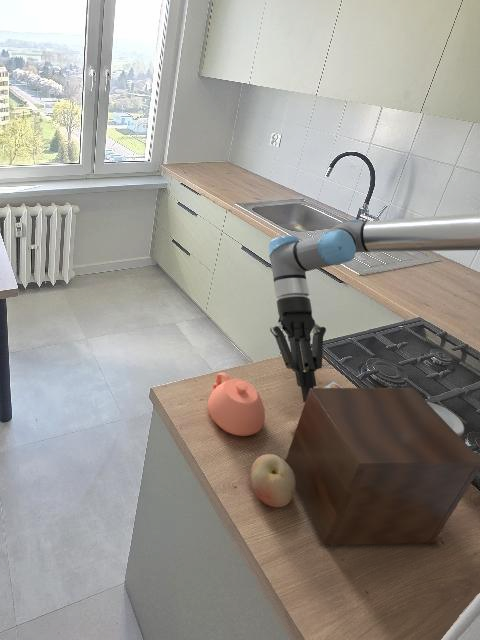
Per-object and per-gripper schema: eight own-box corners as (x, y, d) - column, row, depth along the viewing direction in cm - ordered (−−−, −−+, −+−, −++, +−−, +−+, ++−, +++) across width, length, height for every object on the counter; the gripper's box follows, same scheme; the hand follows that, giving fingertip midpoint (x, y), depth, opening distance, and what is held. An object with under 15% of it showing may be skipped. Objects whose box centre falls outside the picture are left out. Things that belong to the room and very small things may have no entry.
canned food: (406, 432, 94) (424, 396, 90) (449, 458, 88) (470, 421, 84) (392, 449, 90) (410, 412, 85) (436, 478, 84) (458, 440, 80)
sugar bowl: (229, 449, 88) (237, 415, 84) (191, 400, 100) (197, 367, 96) (273, 432, 92) (284, 398, 88) (232, 387, 104) (240, 355, 100)
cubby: (377, 463, 87) (413, 387, 78) (433, 543, 73) (484, 462, 64) (284, 464, 86) (309, 387, 77) (323, 545, 72) (360, 463, 63)
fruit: (237, 490, 80) (245, 462, 77) (260, 466, 85) (268, 439, 82) (276, 525, 75) (286, 496, 71) (298, 497, 79) (308, 469, 76)
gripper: (310, 301, 106) (327, 401, 98) (260, 300, 106) (274, 401, 97) (327, 295, 99) (347, 403, 91) (273, 295, 99) (289, 403, 90)
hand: (309, 402), depth 94 cm, fingers closed
